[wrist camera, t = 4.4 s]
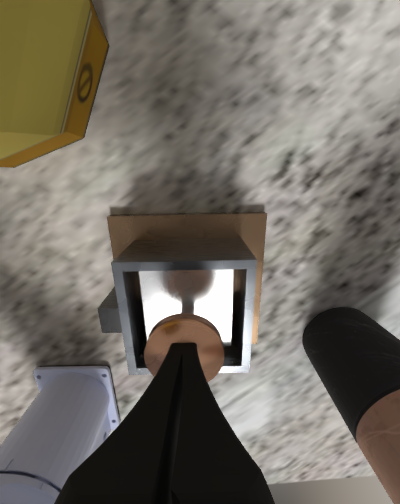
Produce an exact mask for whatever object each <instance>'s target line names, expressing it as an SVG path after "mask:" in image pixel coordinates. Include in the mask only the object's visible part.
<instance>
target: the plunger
mask: <svg viewBox="0 0 400 504" xmlns="http://www.w3.org/2000/svg"><path fill="white" fill-rule="evenodd" d="M233 270H234V269H223V270H175V271H139V277H140V286H141V294H142V302H143V311H144V319H145V328H146V336H147V344H146V347H145V351H144V360H145V364H146V366H147V368H148V370H149V371H150V373H151V374H152V375H153V376H154V377H155V375H156V373H157V372H158V370H159V368H160V366H161V364H162V363H163V361H164V359H165V357H166V355H167V352H168V350H169V348H170V345H171V344H172V343H196V344H197V351H198V356H199V360H200V363H201V367H202V369H203V372H204V375H205V378H206V380H207V382H208V381H210V380H211V379H213V378H214V377H215V376H216V375H217V374H218V373H219V371H220V370H221V368H222V366H223V362H224V349H223V346H231V330H232V300H233Z"/></svg>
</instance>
